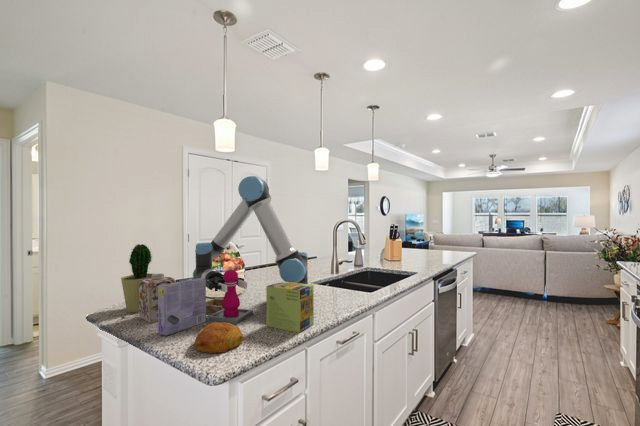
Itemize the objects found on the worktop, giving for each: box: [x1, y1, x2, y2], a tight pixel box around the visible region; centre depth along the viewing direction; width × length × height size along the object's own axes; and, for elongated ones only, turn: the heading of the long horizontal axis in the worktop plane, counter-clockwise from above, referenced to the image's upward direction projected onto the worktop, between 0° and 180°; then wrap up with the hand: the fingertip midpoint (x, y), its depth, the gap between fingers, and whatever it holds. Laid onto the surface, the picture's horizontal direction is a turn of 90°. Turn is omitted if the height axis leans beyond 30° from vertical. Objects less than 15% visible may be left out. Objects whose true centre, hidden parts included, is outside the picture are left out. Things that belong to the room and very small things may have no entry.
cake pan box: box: [157, 278, 207, 337], centre depth 125 cm, size 19×5×18 cm, turn 149°
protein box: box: [265, 280, 315, 334], centre depth 127 cm, size 10×15×16 cm
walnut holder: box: [206, 297, 224, 314], centre depth 149 cm, size 11×11×3 cm
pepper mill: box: [222, 265, 241, 317], centre depth 136 cm, size 7×7×20 cm
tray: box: [207, 307, 254, 325], centre depth 136 cm, size 13×13×2 cm
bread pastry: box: [193, 322, 244, 354], centre depth 108 cm, size 14×16×8 cm
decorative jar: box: [138, 273, 176, 324], centre depth 138 cm, size 12×12×18 cm
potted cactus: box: [120, 243, 154, 313], centre depth 150 cm, size 15×15×30 cm
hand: (236, 287), depth 133 cm, fingers open, 8 cm apart
